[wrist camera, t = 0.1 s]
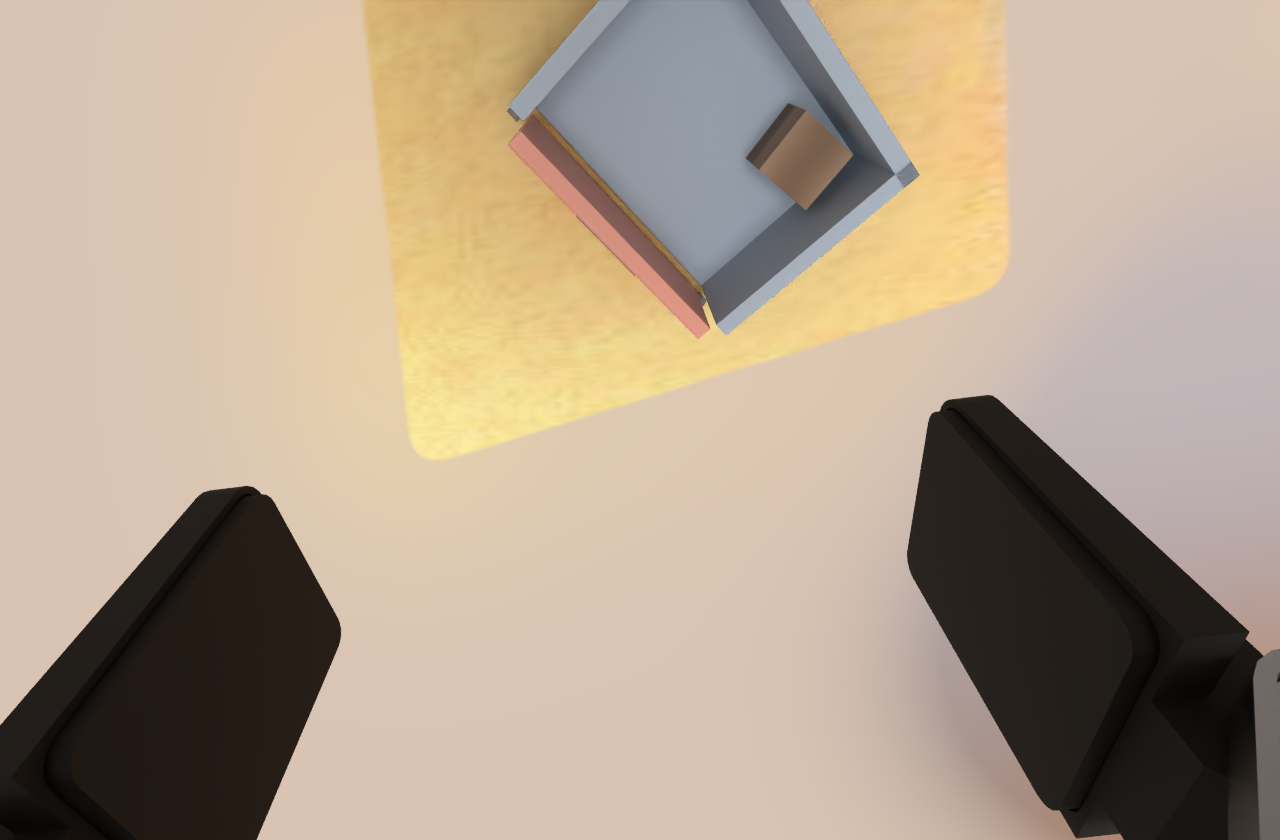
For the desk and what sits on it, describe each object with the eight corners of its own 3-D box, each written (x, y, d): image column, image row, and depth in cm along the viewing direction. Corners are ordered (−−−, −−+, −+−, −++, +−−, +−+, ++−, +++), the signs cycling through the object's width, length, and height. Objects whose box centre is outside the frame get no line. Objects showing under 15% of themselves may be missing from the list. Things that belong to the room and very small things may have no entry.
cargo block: (745, 158, 41) (758, 170, 37) (788, 103, 39) (806, 110, 36) (789, 195, 42) (805, 210, 39) (832, 144, 40) (853, 154, 37)
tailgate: (517, 131, 39) (502, 150, 33) (532, 114, 38) (520, 130, 32) (681, 301, 45) (693, 343, 39) (695, 289, 45) (710, 328, 39)
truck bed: (509, 109, 39) (490, 126, 32) (694, -106, 34) (718, -139, 27) (693, 302, 47) (709, 349, 40) (867, 150, 42) (919, 174, 35)
